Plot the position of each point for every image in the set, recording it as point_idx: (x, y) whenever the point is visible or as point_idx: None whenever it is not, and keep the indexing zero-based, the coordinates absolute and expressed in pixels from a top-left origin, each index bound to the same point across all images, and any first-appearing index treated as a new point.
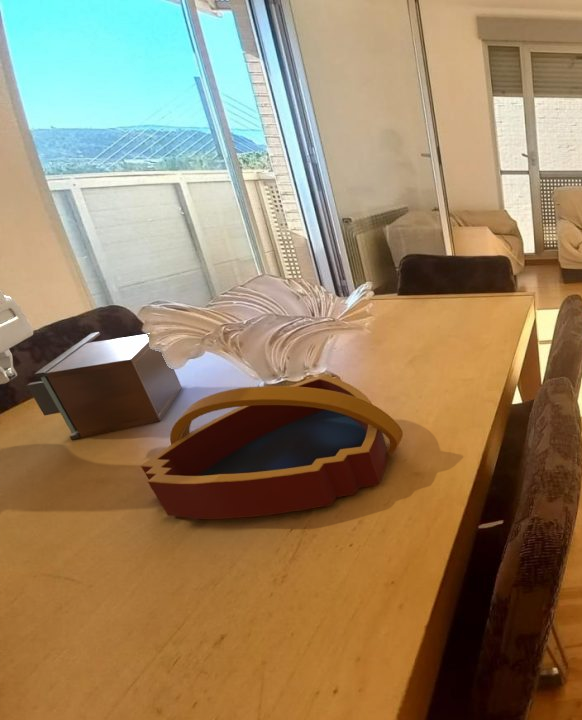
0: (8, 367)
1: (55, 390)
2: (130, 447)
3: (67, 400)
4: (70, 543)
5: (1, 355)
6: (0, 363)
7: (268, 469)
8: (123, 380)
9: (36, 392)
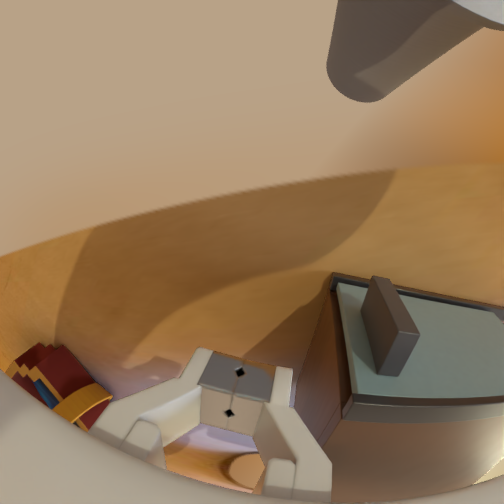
0: (254, 435)
1: (336, 369)
2: (207, 347)
3: (330, 354)
4: (29, 284)
5: (253, 493)
6: (270, 445)
7: (58, 402)
8: None
9: (385, 324)
